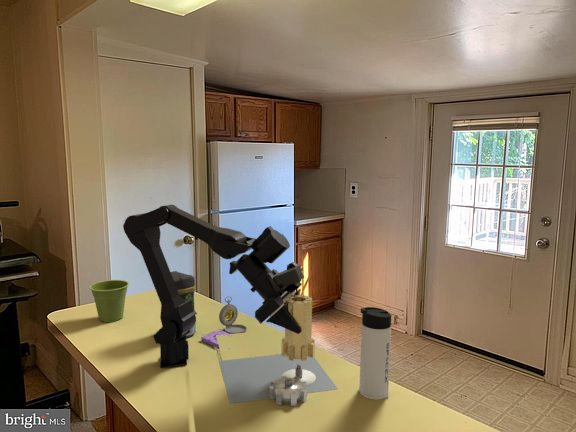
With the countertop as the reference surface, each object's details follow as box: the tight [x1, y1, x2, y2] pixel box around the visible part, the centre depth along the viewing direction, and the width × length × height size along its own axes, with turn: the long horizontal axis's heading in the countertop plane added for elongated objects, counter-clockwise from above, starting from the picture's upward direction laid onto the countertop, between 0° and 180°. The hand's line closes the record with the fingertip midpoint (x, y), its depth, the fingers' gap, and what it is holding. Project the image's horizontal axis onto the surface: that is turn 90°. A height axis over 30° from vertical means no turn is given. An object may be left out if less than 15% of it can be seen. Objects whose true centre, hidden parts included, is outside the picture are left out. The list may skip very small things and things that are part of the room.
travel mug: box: [358, 306, 392, 401], centre depth 94 cm, size 6×7×20 cm
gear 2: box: [269, 376, 308, 407], centre depth 93 cm, size 8×8×3 cm
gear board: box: [218, 353, 339, 405], centre depth 102 cm, size 24×20×4 cm
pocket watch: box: [218, 296, 248, 335], centre depth 131 cm, size 8×8×10 cm
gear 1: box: [280, 294, 316, 361], centre depth 100 cm, size 8×8×13 cm
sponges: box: [201, 329, 234, 350], centre depth 122 cm, size 7×13×2 cm, turn 49°
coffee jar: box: [170, 270, 197, 339], centre depth 127 cm, size 10×8×19 cm
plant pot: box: [89, 279, 130, 323], centre depth 139 cm, size 12×12×11 cm
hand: (304, 327), depth 99 cm, fingers closed on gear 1, 6 cm apart
